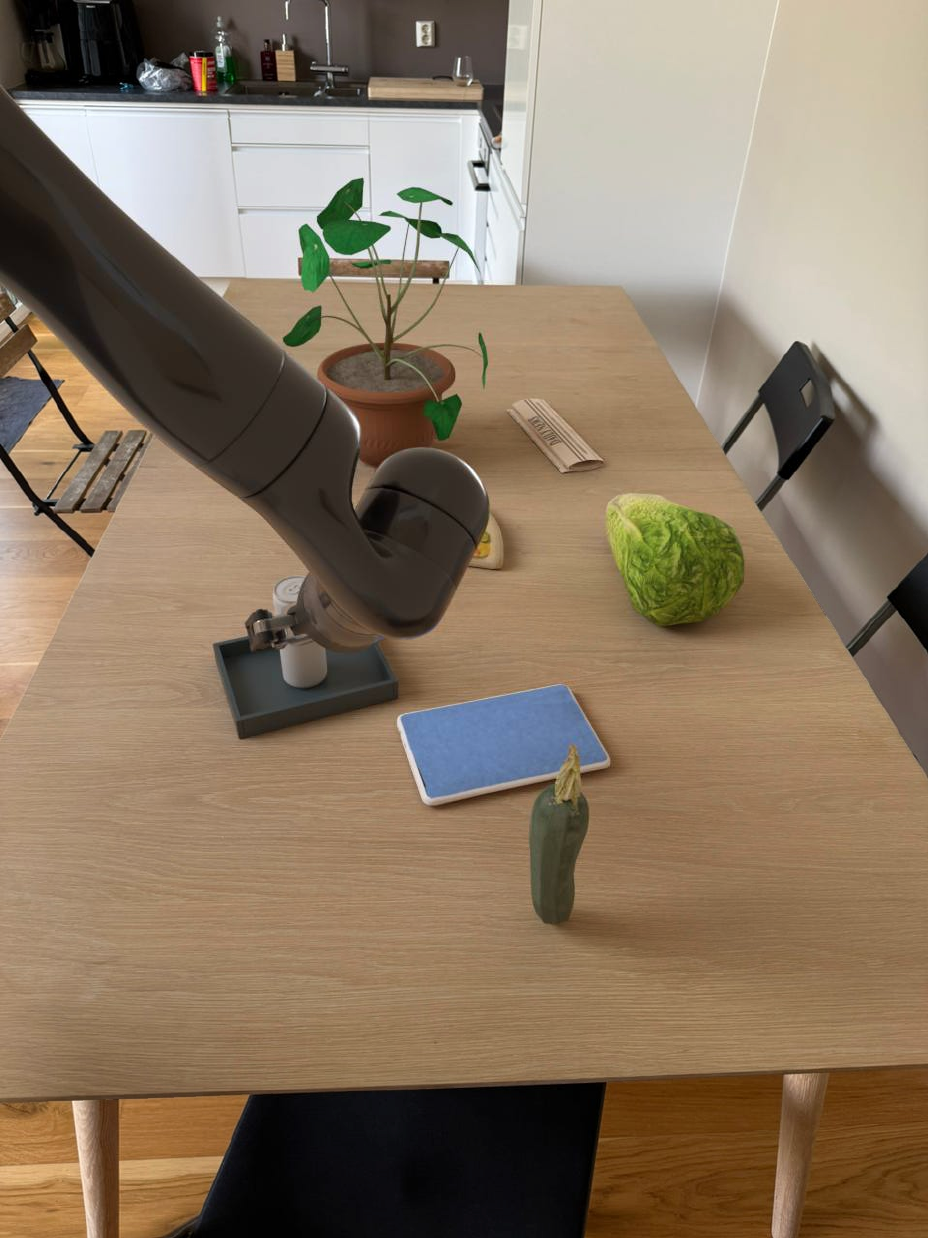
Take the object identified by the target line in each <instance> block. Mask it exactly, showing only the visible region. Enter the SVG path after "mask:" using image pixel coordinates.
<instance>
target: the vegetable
mask: <svg viewBox="0 0 928 1238" xmlns="http://www.w3.org/2000/svg"><path fill="white" fill-rule="evenodd" d="M569 748H570V750H569V753H568V755H569V757H568V758H567V759H566V760H565V761H564V762H563V763H562V766H561V769H560V771H559V772H558V774H557V777H556V778H555V783H552V784H549V785H547V786H546V787H544V788H543V789H541V792H539V794H538V795H537V796H536V798H535V800H534V802H533V804H532V808H531V811H530V818H529V828H528V842H529V843H528V844H529V859H530V860H529V861H530V862H529V863H530V864H529V868H530V878H529V879H530V881H529V882H530V895H531V901H532V905H533V909H534V912H535V914H536V915H537V917H538V918H539V919H540V921H542V923H543V924H545V925H553V926H559V925H562V924H563V923H565V922H568V921H569V920H570V917H571V914H572V911H573V909H574V903H575V895H576V887H575V870H576V863H577V859H578V857H579V854H580V851H581V850H582V849H581V848H582V846H583V843H584V841H585V838H586V835H587V832H588V829H589V823H590V808H589V803H588V800H587V798H586V797H585V795H584V793H583V792H582V779H581V773H580V762H579V761H580V758H579V756H578V751H577V747H576V746H575V745H572V744H570V745H569Z"/></svg>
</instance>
